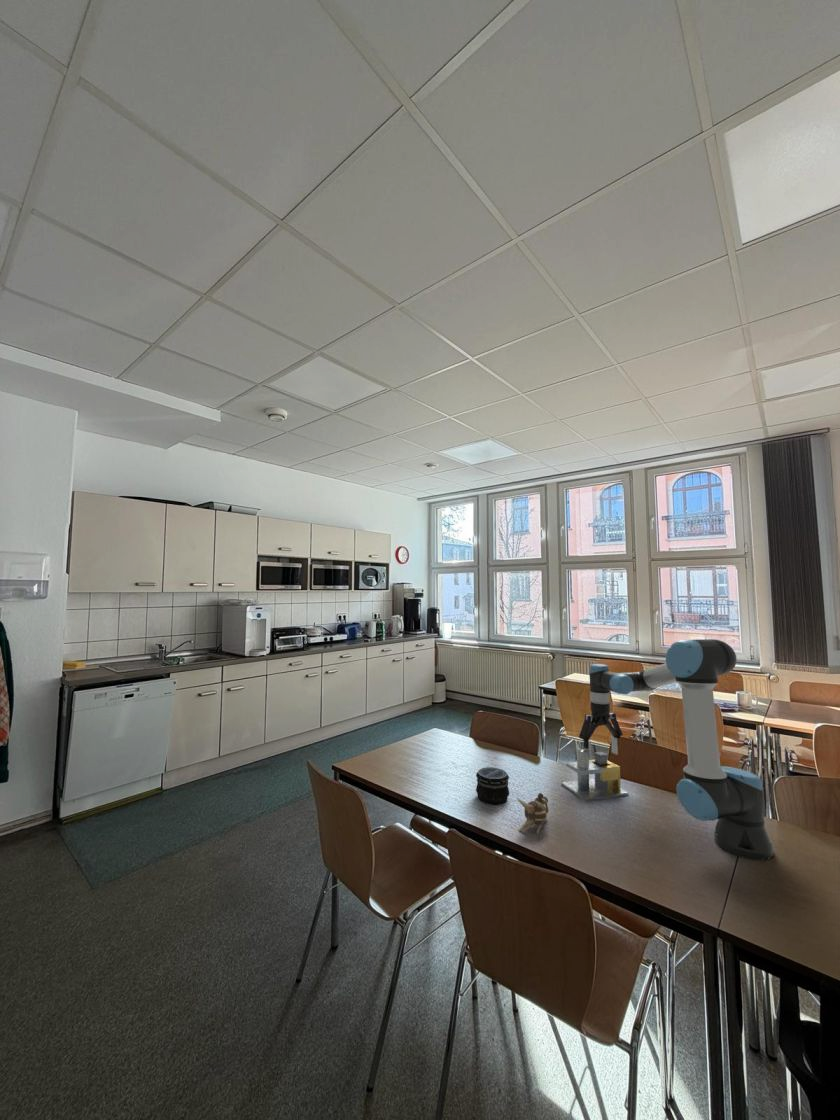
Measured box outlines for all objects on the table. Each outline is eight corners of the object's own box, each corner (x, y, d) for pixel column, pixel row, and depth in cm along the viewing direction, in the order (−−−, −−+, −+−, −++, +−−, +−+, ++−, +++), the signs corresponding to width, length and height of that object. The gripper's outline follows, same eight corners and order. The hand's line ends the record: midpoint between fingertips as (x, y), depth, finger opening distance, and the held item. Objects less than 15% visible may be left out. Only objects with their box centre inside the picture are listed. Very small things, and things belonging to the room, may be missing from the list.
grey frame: (628, 795, 178) (627, 753, 180) (586, 801, 172) (585, 758, 174) (600, 779, 193) (600, 741, 195) (561, 784, 188) (560, 745, 189)
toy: (559, 824, 156) (540, 838, 144) (537, 819, 161) (517, 832, 149) (557, 791, 158) (538, 802, 146) (535, 786, 163) (516, 797, 151)
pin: (608, 787, 183) (607, 754, 184) (600, 788, 182) (600, 755, 183) (601, 784, 186) (601, 751, 188) (594, 784, 185) (594, 752, 187)
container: (506, 808, 165) (506, 780, 166) (472, 803, 170) (472, 776, 170) (511, 794, 177) (511, 768, 178) (479, 790, 182) (479, 764, 182)
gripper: (617, 698, 194) (619, 749, 192) (569, 701, 187) (570, 754, 185) (630, 702, 187) (632, 755, 185) (580, 706, 180) (582, 761, 178)
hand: (601, 755), depth 185 cm, fingers open, 12 cm apart
